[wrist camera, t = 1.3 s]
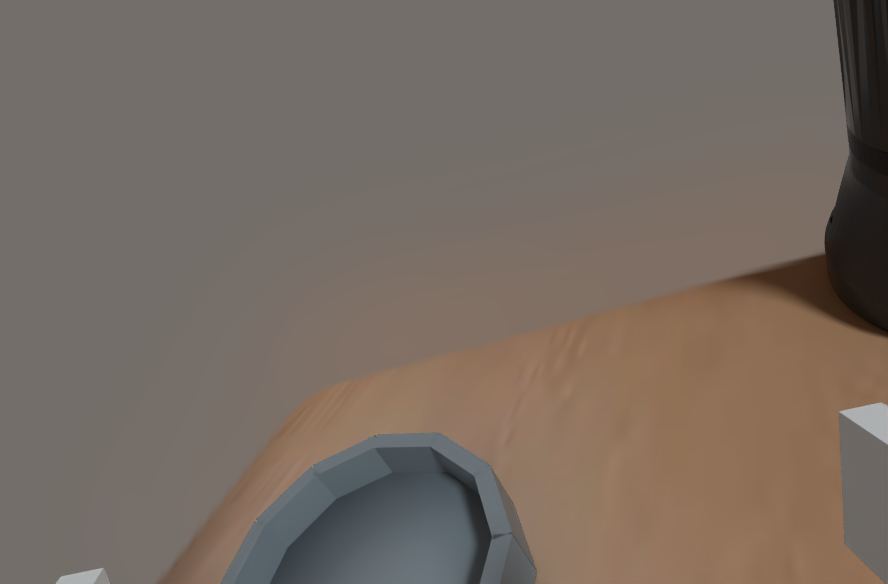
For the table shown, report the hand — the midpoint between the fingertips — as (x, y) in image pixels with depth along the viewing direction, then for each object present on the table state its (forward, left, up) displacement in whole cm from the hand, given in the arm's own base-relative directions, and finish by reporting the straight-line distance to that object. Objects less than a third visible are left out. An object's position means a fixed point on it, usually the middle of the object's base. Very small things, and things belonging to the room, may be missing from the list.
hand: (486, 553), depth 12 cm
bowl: (+11, -15, -20) cm, 28 cm away
